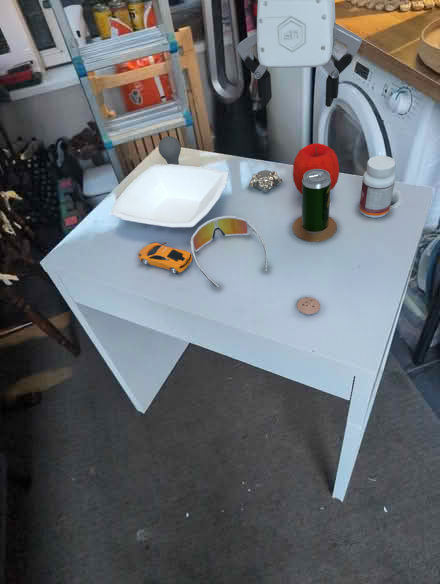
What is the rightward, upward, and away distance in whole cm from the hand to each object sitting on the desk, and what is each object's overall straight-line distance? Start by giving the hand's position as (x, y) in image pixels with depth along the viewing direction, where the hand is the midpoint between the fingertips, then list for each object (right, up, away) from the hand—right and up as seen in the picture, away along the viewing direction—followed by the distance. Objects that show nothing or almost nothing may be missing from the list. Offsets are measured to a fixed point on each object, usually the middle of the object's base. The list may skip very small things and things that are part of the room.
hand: (297, 102), depth 66 cm
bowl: (-22, -11, +35) cm, 43 cm away
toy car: (-23, -23, +24) cm, 40 cm away
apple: (+10, -7, +32) cm, 34 cm away
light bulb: (-23, +2, +47) cm, 53 cm away
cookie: (+4, -32, +10) cm, 33 cm away
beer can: (+8, -15, +24) cm, 30 cm away
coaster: (+8, -15, +25) cm, 30 cm away
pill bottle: (+21, -12, +26) cm, 35 cm away
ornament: (-1, -4, +37) cm, 37 cm away
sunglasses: (-10, -22, +22) cm, 33 cm away
